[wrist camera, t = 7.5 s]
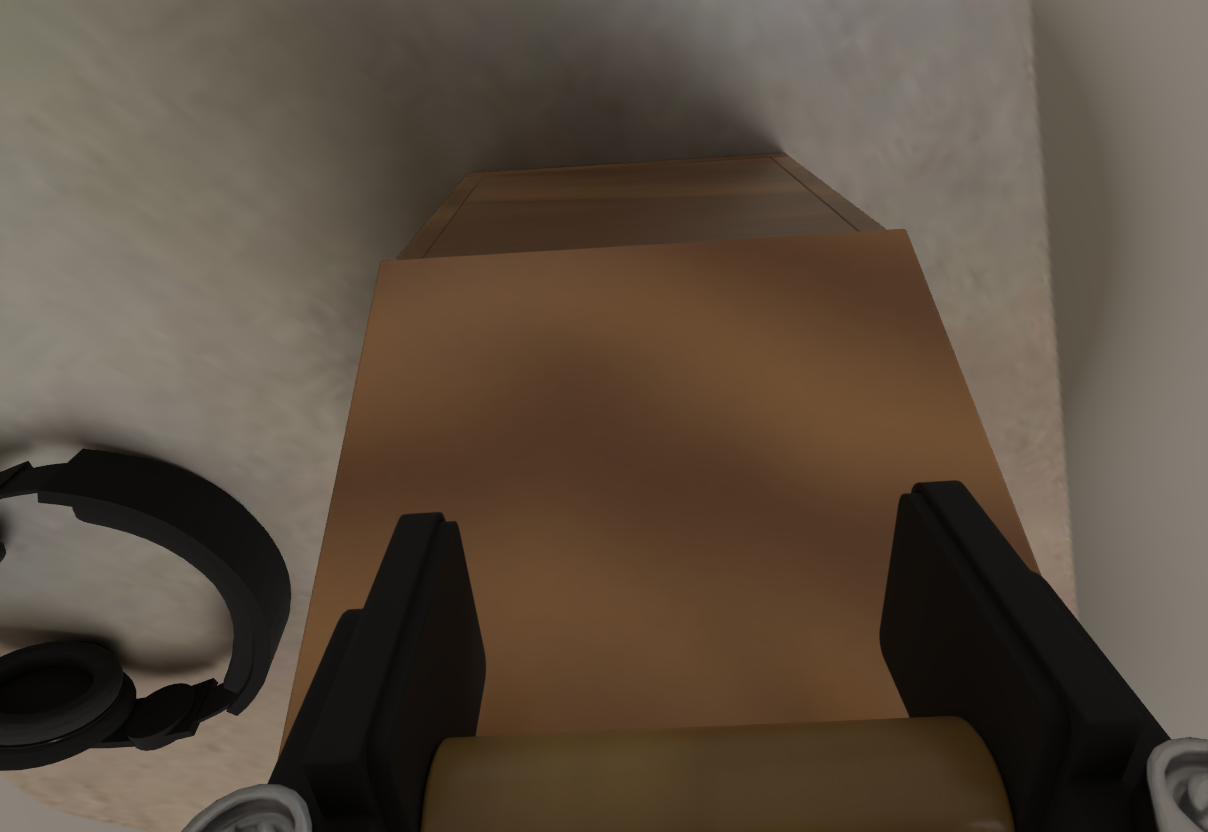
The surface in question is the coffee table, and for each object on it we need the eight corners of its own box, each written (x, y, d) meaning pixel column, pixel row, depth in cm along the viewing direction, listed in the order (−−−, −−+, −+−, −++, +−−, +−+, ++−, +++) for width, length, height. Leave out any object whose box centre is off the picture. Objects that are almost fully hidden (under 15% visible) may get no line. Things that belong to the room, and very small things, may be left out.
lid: (1173, 989, 11) (1550, 1038, 6) (246, 1019, 11) (-31, 1086, 6) (897, 250, 19) (971, 51, 15) (388, 281, 20) (312, 96, 15)
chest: (769, 446, 38) (843, 636, 26) (509, 460, 38) (469, 654, 27) (785, 152, 31) (896, 234, 19) (467, 172, 31) (388, 265, 20)
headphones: (-295, 618, 32) (103, 455, 31) (-153, 517, 39) (177, 380, 38) (-2, 838, 41) (324, 716, 39) (73, 722, 48) (352, 615, 46)
